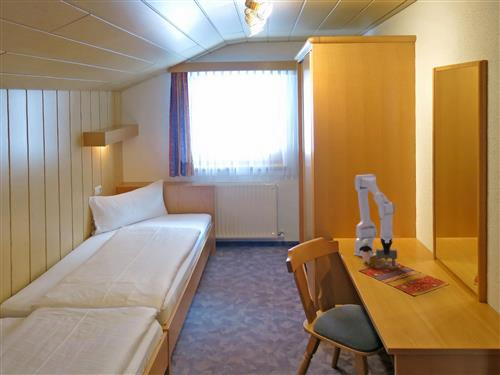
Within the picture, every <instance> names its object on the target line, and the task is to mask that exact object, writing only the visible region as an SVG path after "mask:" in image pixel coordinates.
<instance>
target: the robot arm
mask: <svg viewBox="0 0 500 375" xmlns="http://www.w3.org/2000/svg"><path fill="white" fill-rule="evenodd" d="M354 187H355V191H357V197H358V208H359V216H360V222H359V223H358V224H356V231H355V235H356V239H355V243H354V254H353V255H354V256H357V257H361V258H362V252H363V250H362V251H360V253H358V251H359V248H360V247H362V246H364V244H363V243H362V242H363V240H364V239H368V240H369V244H368V245H367V246H369V247H371V249H372V251H373V254H372V253H371V251H370V250H369V252H370V258H372V257H375V256H376V253H374V240H375V239H376V238H377V235H378V231H377V227H376V224H375V223H374V222H373V221H371V214H370V204H369V197H368V196H369V195H368V194H369V191H370V192H371V194H372V195H373V201H374V202H375V204H376V205H377V207H378V209H377V210H378V215H379V218H380V235H379V238H380V243H381V245H382V249H383V250H384V255H389V251H390V249H391V246H392V244H393V238H395V237H396V236H395V235H393V218H394V217H393V215H394V214H395V212H396V207H395V204H394V203H393V202H391V201H389V199H388V198H387V197H386V195H385V194H384V193H383V192H381V191H380V189H379V186H378V185H377V176H376V175H375V174H374V173H371V174H369V173H368V174H356V175H355V178H354Z"/></svg>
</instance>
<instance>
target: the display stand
mask: <svg viewBox="0 0 500 375" xmlns="http://www.w3.org/2000/svg"><path fill="white" fill-rule="evenodd" d="M376 259H377V262H374V268H375V269H399V266H398V262H396V259H391V262H389V261H388V260H389V259H387V258H384V262H382V258H376Z"/></svg>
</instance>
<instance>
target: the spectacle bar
mask: <svg viewBox="0 0 500 375" xmlns="http://www.w3.org/2000/svg"><path fill="white" fill-rule="evenodd" d="M375 254H376V255H375V256H376V257H375V258H376V259H377V258H381V259H385V258H387V259H388V260H390V259H391V260H392V259H395V260H396V259H398V249H395V248H393V249H392V248H390V251H389V255H384V250H383V248H376V250H375Z"/></svg>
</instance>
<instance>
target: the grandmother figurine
mask: <svg viewBox="0 0 500 375" xmlns="http://www.w3.org/2000/svg"><path fill="white" fill-rule="evenodd" d="M362 243H363V244H364V246H362V247H360V248H359V251H358V253H360V251H362V250H363V252H362V257H361V258H362V264H363V265H366V264H368V265H370V264H372V261H371V257H370V252H369V250H370V251H371V253H372V254H373V253H374V250H373V251H372V249H371V247H369V246H367V245H368V244H369V240H368V239H364V240H363V242H362Z"/></svg>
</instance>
